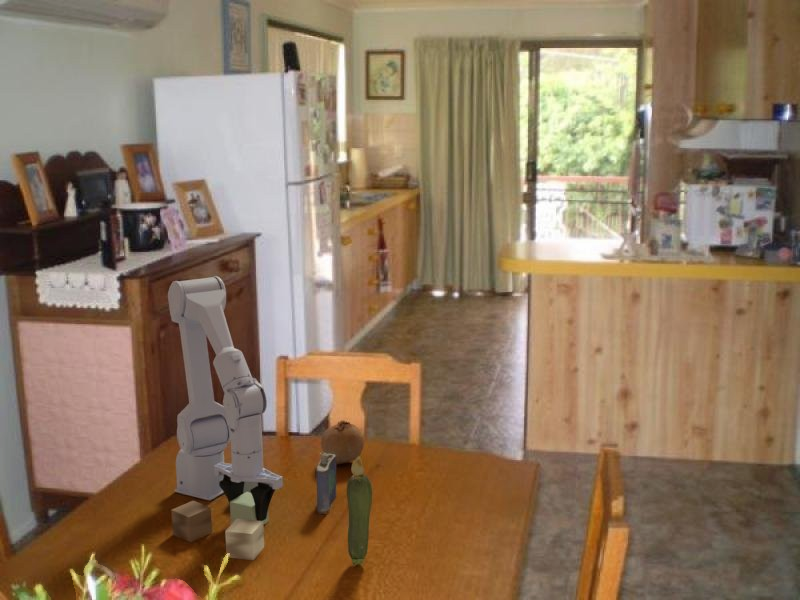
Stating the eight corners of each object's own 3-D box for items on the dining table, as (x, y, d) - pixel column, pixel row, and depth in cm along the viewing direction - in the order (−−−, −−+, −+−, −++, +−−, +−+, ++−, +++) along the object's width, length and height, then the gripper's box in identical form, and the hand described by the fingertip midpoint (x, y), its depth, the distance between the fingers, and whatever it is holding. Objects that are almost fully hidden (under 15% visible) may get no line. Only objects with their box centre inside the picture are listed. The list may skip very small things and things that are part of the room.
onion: (363, 472, 191) (362, 428, 189) (319, 472, 191) (318, 428, 189) (365, 455, 200) (364, 413, 198) (323, 455, 201) (322, 413, 198)
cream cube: (226, 557, 155) (225, 531, 154) (238, 544, 160) (237, 518, 159) (253, 560, 154) (252, 534, 153) (264, 547, 159) (263, 521, 158)
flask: (328, 514, 171) (326, 462, 169) (313, 514, 171) (311, 461, 169) (338, 494, 180) (337, 444, 178) (324, 494, 180) (322, 444, 178)
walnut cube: (173, 535, 163) (171, 509, 162) (194, 525, 167) (193, 500, 166) (190, 542, 160) (188, 517, 159) (212, 532, 164) (210, 507, 163)
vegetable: (347, 557, 155) (345, 448, 151) (372, 556, 155) (371, 447, 151) (348, 570, 150) (346, 458, 146) (373, 568, 151) (372, 457, 147)
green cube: (231, 526, 166) (229, 501, 165) (247, 515, 171) (246, 491, 170) (252, 532, 164) (251, 507, 163) (268, 521, 168) (267, 496, 167)
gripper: (201, 448, 164) (205, 517, 167) (265, 463, 157) (268, 534, 160) (226, 436, 170) (229, 502, 173) (288, 449, 164) (290, 518, 166)
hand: (249, 516), depth 167 cm, fingers closed on green cube, 5 cm apart
